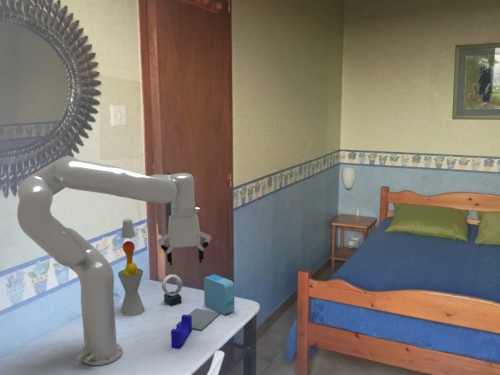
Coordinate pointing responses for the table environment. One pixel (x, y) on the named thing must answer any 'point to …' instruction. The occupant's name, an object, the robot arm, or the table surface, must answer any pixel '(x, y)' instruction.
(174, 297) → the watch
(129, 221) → the lava lamp
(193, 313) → the mat
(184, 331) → the cable clip
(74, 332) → the table surface
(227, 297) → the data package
